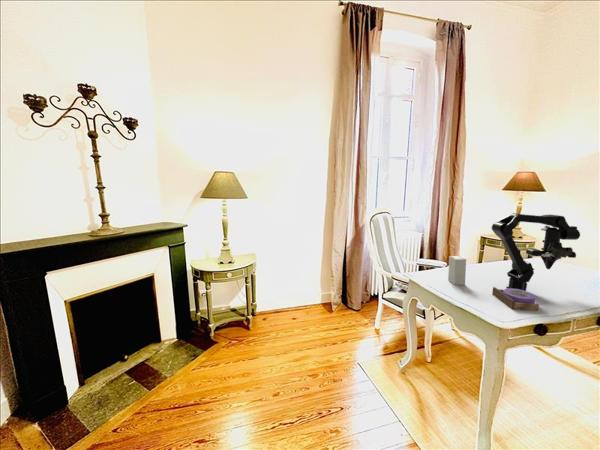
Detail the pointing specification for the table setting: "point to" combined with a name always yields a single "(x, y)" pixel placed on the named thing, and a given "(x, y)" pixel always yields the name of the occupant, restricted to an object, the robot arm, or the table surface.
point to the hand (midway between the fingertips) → (548, 269)
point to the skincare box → (457, 270)
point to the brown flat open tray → (511, 303)
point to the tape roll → (520, 295)
